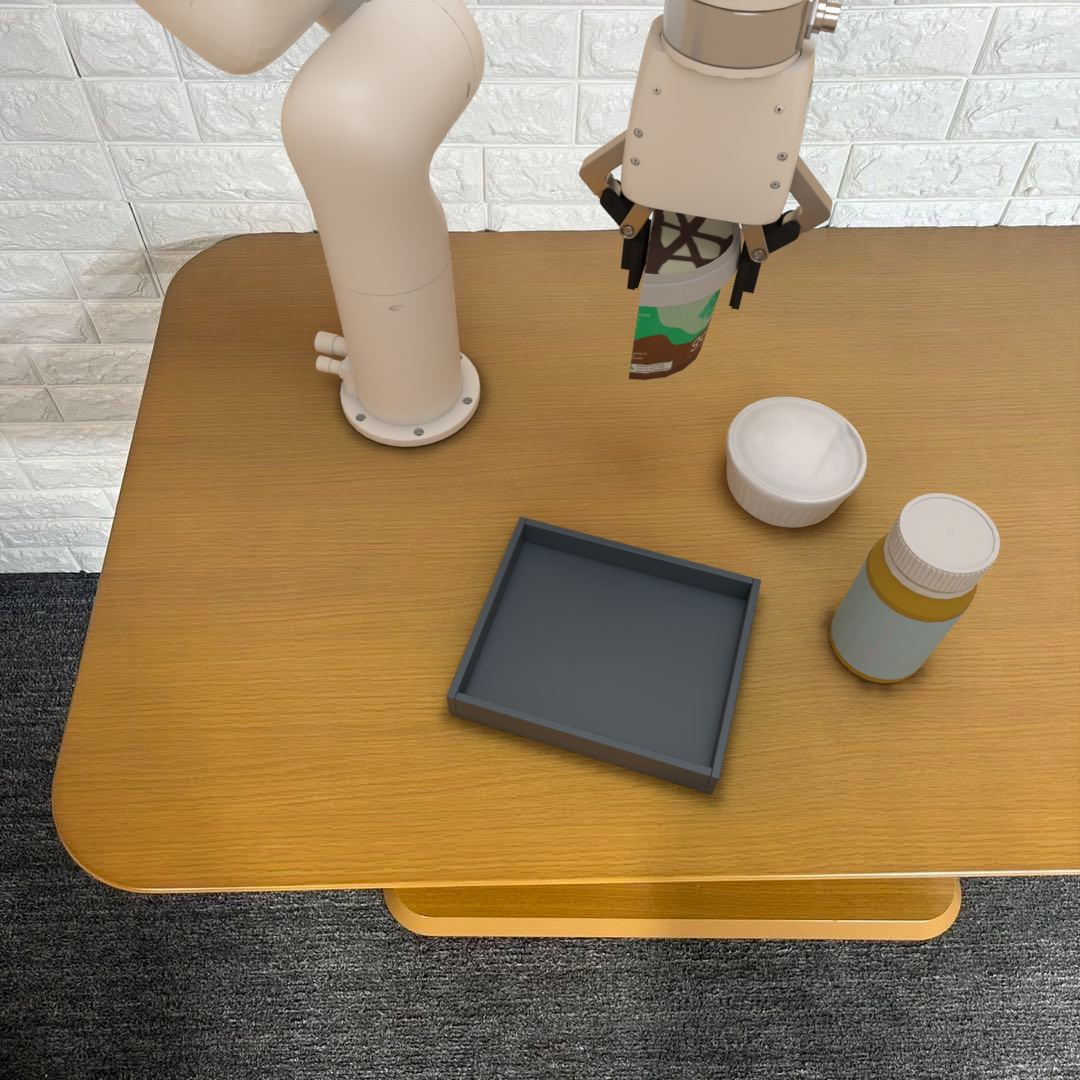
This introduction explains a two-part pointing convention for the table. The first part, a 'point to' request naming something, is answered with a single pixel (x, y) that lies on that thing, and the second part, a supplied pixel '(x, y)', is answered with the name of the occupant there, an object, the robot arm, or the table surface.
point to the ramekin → (792, 460)
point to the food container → (680, 290)
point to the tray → (609, 653)
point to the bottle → (913, 587)
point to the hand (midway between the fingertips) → (686, 284)
